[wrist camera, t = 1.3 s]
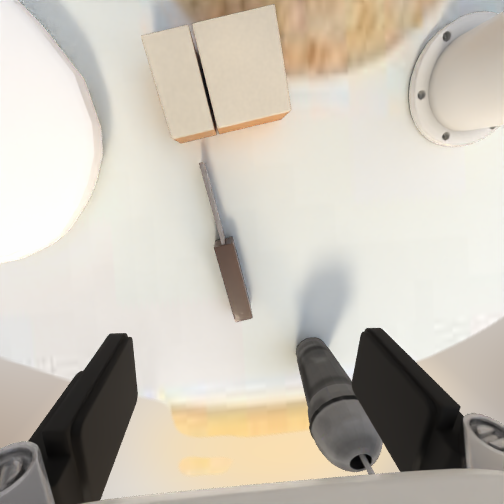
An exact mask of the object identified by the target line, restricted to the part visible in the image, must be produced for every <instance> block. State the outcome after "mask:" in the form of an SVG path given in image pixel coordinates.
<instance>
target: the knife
mask: <svg viewBox="0 0 504 504" xmlns="http://www.w3.org/2000/svg"><path fill="white" fill-rule="evenodd" d="M199 165H200V169H201V172H202V176H203V179H204V183H205V187H206V190H207V194H208V197H209V201H210V205H211V208H212V212H213V215H214V219H215V223H216V226H217V230H218V233H219V237H220V240H216V241H215V246H214V250H215V253H216V256H217V260H218V263H219V267H220V270H221V274H222V277H223V281H224V284H225V288H226V291H227V295H228V298H229V302H230V305H231V308H232V312H233V315H234V319H235V322H239V321H243V320H247V319H251V318H253V317H252V311H251V305H250V301H249V297H248V294H247V290H246V286H245V282H244V278H243V274H242V271H241V267H240V263H239V259H238V255H237V251H236V248H235V244H234V240H233V237H229V238H225V235H224V231H223V228H222V224H221V220H220V217H219V213H218V209H217V205H216V202H215V198H214V194H213V191H212V187H211V183H210V180H209V176H208V172H207V168H206V165H205V163H203V162H202V163H199Z"/></svg>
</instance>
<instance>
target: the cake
mask: <svg viewBox="0 0 504 504" xmlns="http://www.w3.org/2000/svg"><path fill="white" fill-rule="evenodd" d="M192 27H193V31H194V35H195V39H196V43H197V47H198V51H199V55H200V59H201V63H202V67H203V71H204V75H205V80H206V84H207V88H208V92H209V96H210V100H211V104H212V108H213V112H214V116H215V120H216V124H217V128H218V132H219V134H222V133H226V132H230V131H235V130H239V129H243V128H247V127H251V126H255V125H260V124H264V123H268V122H272V121H276V120H281V119H282V118H283V117H284V116H285V115H286V114H288V113H289V112H290V111H291V104H290V97H289V91H288V85H287V79H286V72H285V66H284V60H283V54H282V47H281V41H280V35H279V29H278V22H277V16H276V10H275V5H274V4H273V5H268V6H264V7H260V8H256V9H251V10H247V11H243V12H239V13H234V14H230V15H226V16H222V17H217V18H213V19H209V20H205V21H200V22H196V23H192Z"/></svg>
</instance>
